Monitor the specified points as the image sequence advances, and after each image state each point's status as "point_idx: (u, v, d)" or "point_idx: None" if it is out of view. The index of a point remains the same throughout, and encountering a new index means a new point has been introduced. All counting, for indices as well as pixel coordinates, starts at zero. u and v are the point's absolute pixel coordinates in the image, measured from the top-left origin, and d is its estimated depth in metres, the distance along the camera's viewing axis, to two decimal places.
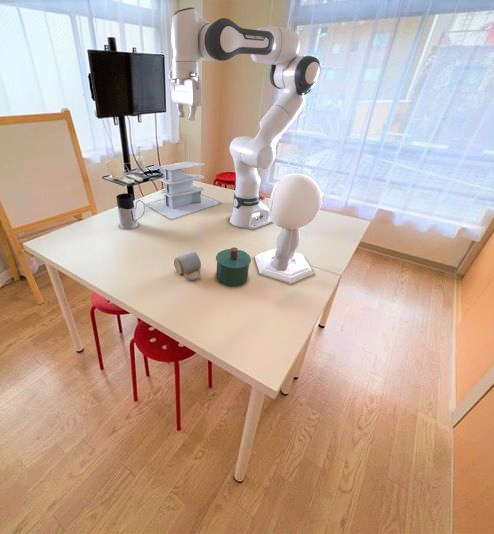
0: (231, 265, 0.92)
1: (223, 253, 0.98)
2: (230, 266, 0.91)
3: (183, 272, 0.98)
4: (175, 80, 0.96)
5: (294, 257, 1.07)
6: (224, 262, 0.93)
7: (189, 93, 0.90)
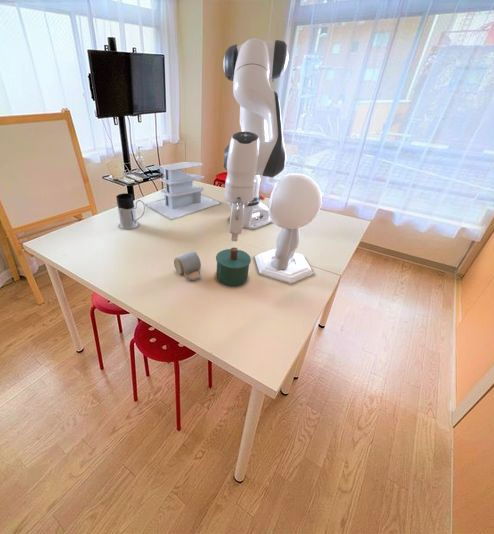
0: (231, 265, 0.92)
1: (223, 253, 0.98)
2: (230, 266, 0.91)
3: (183, 272, 0.98)
4: None
5: (294, 257, 1.07)
6: (224, 262, 0.93)
7: None
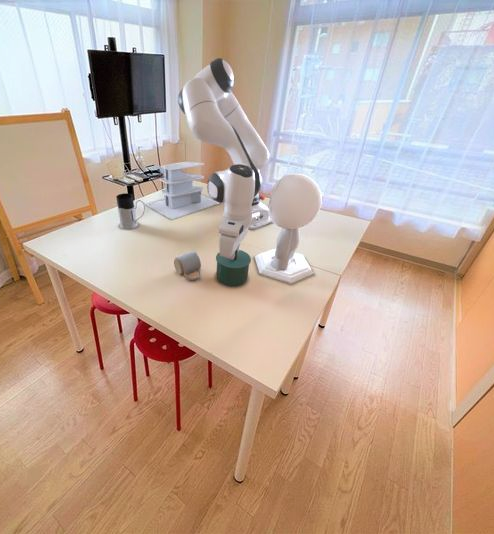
0: (231, 265, 0.92)
1: None
2: (230, 266, 0.91)
3: (183, 272, 0.98)
4: None
5: (294, 257, 1.07)
6: (224, 262, 0.93)
7: None
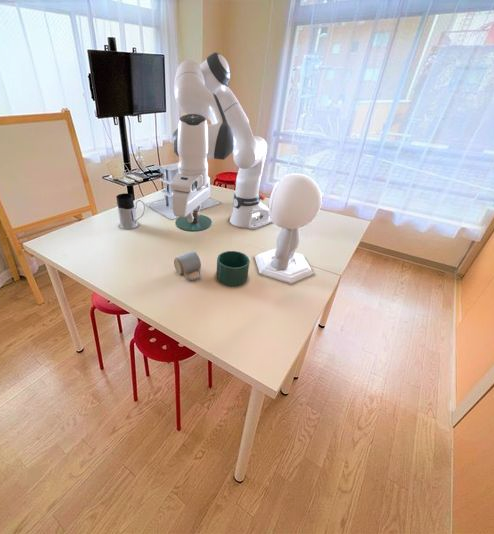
0: (189, 228, 0.86)
1: None
2: (188, 229, 0.86)
3: (183, 272, 0.98)
4: None
5: (294, 257, 1.07)
6: (183, 225, 0.88)
7: (207, 188, 0.89)
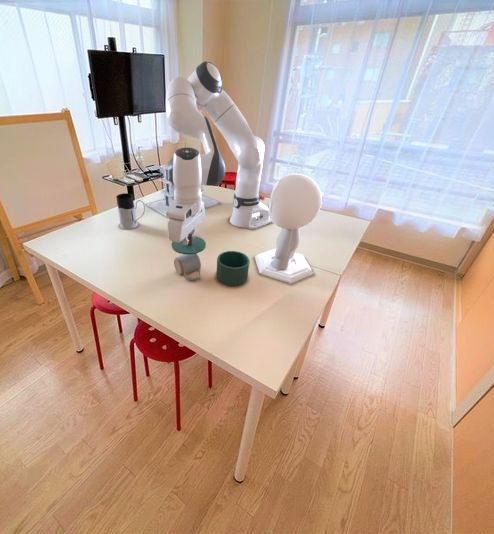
0: (184, 250, 0.92)
1: None
2: (183, 251, 0.91)
3: (183, 272, 0.98)
4: None
5: (294, 257, 1.07)
6: (178, 248, 0.93)
7: (201, 213, 0.95)
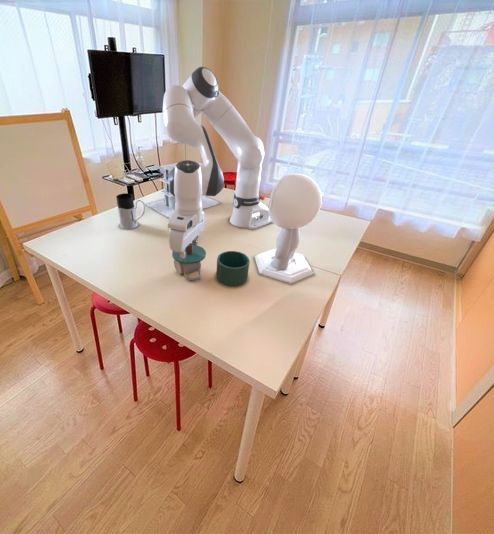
0: (185, 260, 0.94)
1: None
2: (184, 261, 0.93)
3: (183, 272, 0.98)
4: None
5: (294, 257, 1.07)
6: (179, 257, 0.95)
7: (202, 222, 0.97)
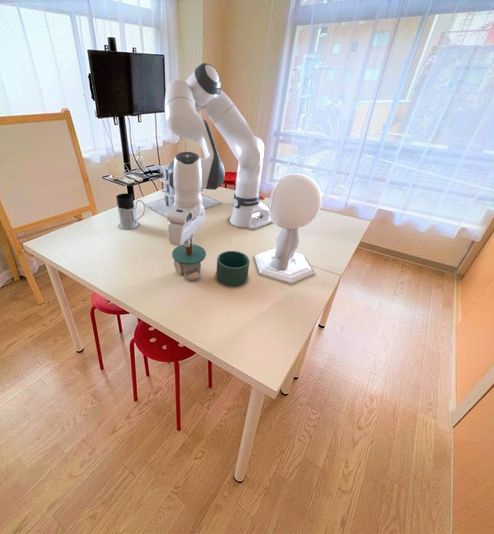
0: (185, 260, 0.94)
1: (180, 248, 1.00)
2: (184, 261, 0.93)
3: (183, 272, 0.98)
4: None
5: (294, 257, 1.07)
6: (179, 257, 0.95)
7: (201, 216, 0.95)
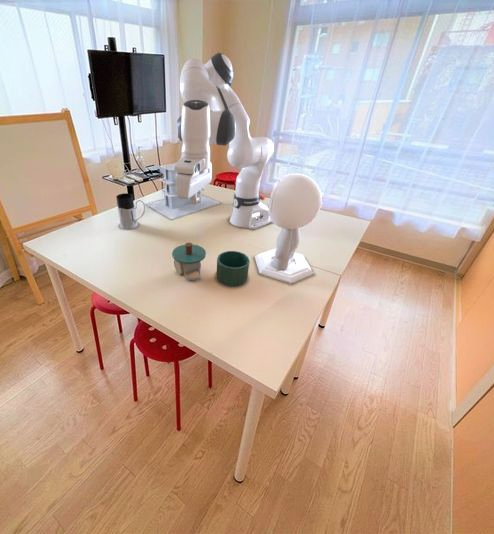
0: (185, 260, 0.94)
1: (180, 248, 1.00)
2: (184, 261, 0.93)
3: (183, 272, 0.98)
4: None
5: (294, 257, 1.07)
6: (179, 257, 0.95)
7: (209, 174, 0.93)
